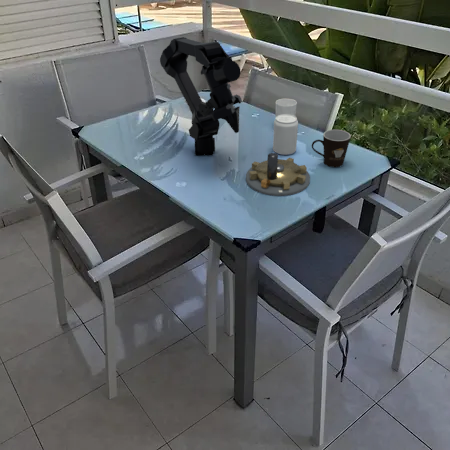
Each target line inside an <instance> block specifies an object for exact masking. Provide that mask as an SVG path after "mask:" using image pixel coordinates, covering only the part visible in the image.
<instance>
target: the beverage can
mask: <svg viewBox="0 0 450 450" xmlns="http://www.w3.org/2000/svg"><path fill="white" fill-rule="evenodd" d="M298 128H299V121H298V118H297V116H296V115H295V116H293V115H289V114H283V115H278V116H277V117H276V116H275V119H274V121H273V136H272V137H273V138H272V150H273V151H274V152H273V153H276V154H278V155H282V156H286V155H287V156H288V155H291V154H295V153H296V151H297V143H298V142H297V141H298V130H299V129H298Z"/></svg>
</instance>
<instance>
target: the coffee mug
mask: <svg viewBox="0 0 450 450" xmlns="http://www.w3.org/2000/svg"><path fill="white" fill-rule="evenodd" d="M322 137H323V139H315V140H314V141H312V143H311V149H312V150H313V151H314V152H315V153H317V154H318V155H319V156H321V157H323V164H324V165H325V166H326V167H328V168H329V167H330V168H341V167H342V166H343V165H344V162H345V159H346V155H347V152H348V149H349V148H348V147H349V144H350V141H351V137H352V135H351V134H350V132H347V131H345V130H341V129H328V130H326V131H324V132H323V136H322ZM317 142H320V143H322V146H323V153H321V152H319V151H318V150H316V149H315V148H314V145H315V143H317ZM340 166H341V167H340Z"/></svg>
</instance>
